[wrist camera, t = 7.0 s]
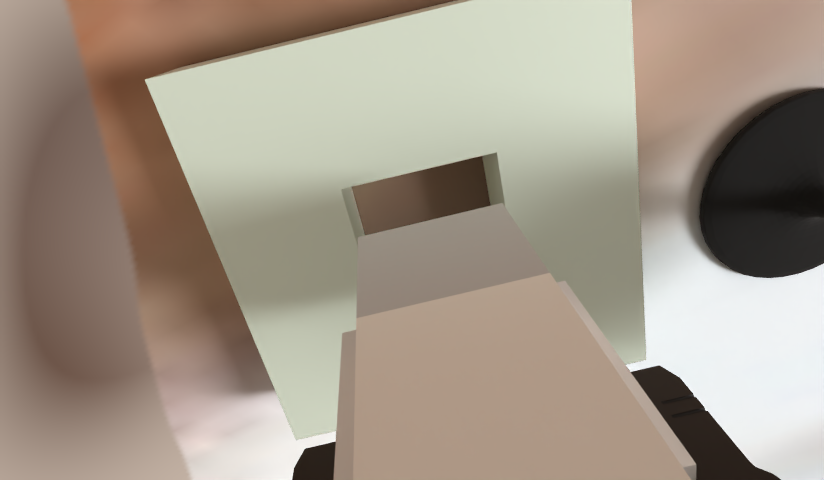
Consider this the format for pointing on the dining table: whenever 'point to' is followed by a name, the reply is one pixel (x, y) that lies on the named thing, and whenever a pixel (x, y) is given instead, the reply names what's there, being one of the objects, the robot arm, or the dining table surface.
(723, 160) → the wine glass
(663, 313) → the dining table surface
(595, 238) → the socket plate
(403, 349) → the plug
